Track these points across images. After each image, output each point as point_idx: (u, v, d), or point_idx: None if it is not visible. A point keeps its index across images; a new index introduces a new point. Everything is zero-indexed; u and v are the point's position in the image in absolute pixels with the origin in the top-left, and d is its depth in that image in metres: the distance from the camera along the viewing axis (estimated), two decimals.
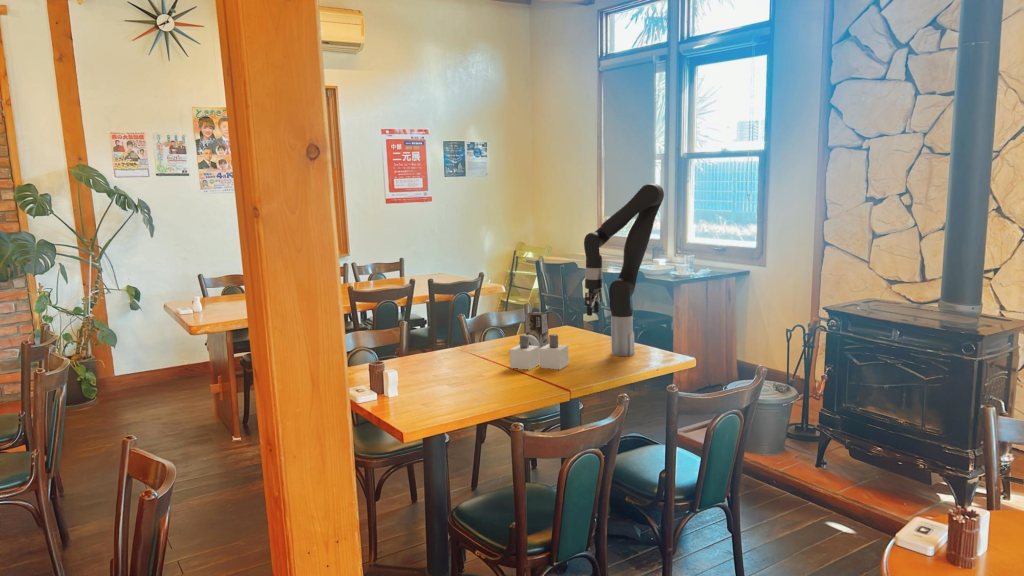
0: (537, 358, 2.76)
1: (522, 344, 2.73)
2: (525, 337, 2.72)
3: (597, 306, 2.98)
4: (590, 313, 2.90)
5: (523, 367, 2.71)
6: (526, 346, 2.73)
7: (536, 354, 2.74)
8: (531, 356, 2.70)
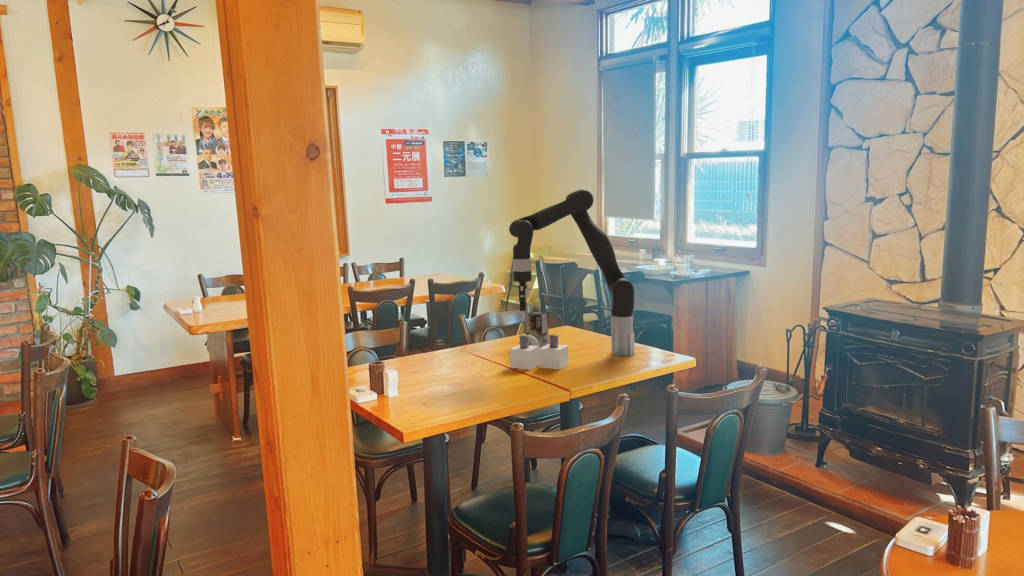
0: (537, 358, 2.76)
1: (522, 344, 2.73)
2: (525, 337, 2.72)
3: None
4: None
5: (523, 367, 2.71)
6: (526, 346, 2.73)
7: (536, 354, 2.74)
8: (531, 356, 2.70)
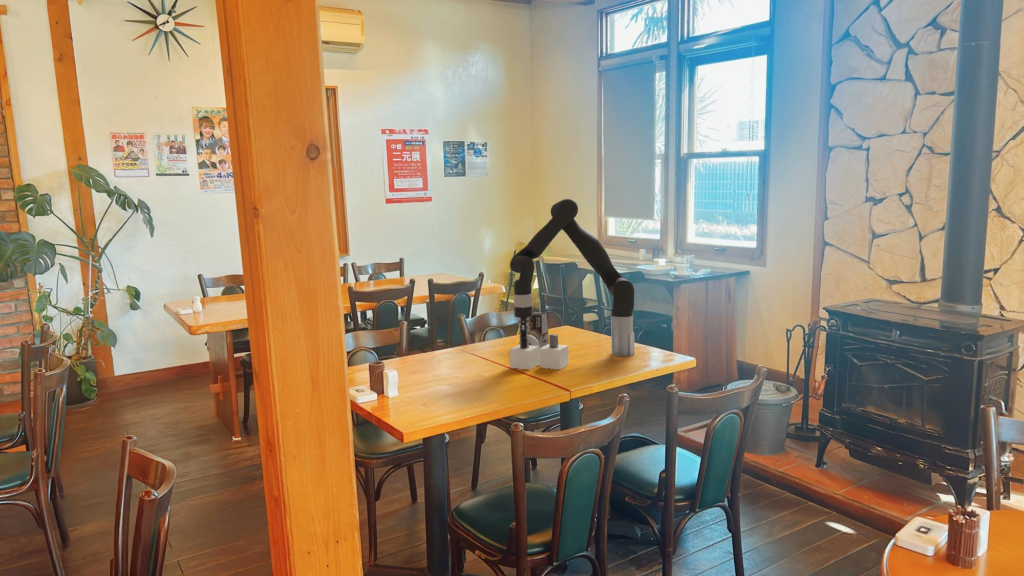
0: (537, 358, 2.76)
1: None
2: None
3: None
4: None
5: (523, 367, 2.71)
6: None
7: (536, 354, 2.74)
8: (531, 356, 2.70)
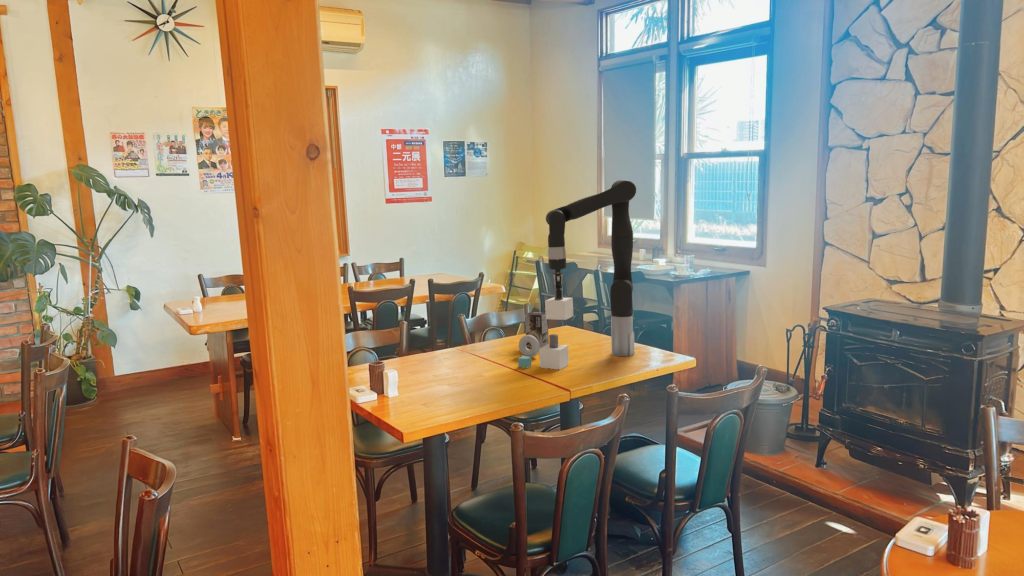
0: (572, 309, 2.85)
1: None
2: None
3: None
4: None
5: (559, 317, 2.80)
6: None
7: (570, 305, 2.84)
8: (566, 306, 2.79)
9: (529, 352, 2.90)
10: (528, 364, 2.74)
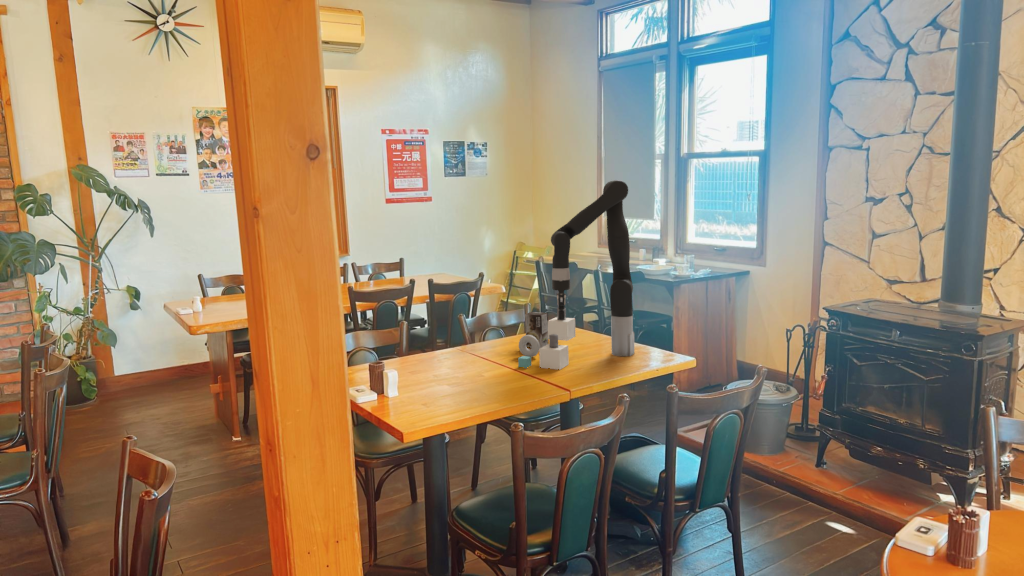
0: (574, 330, 2.88)
1: None
2: None
3: None
4: None
5: (561, 338, 2.83)
6: None
7: (573, 326, 2.87)
8: (568, 327, 2.82)
9: (529, 352, 2.90)
10: (528, 364, 2.74)
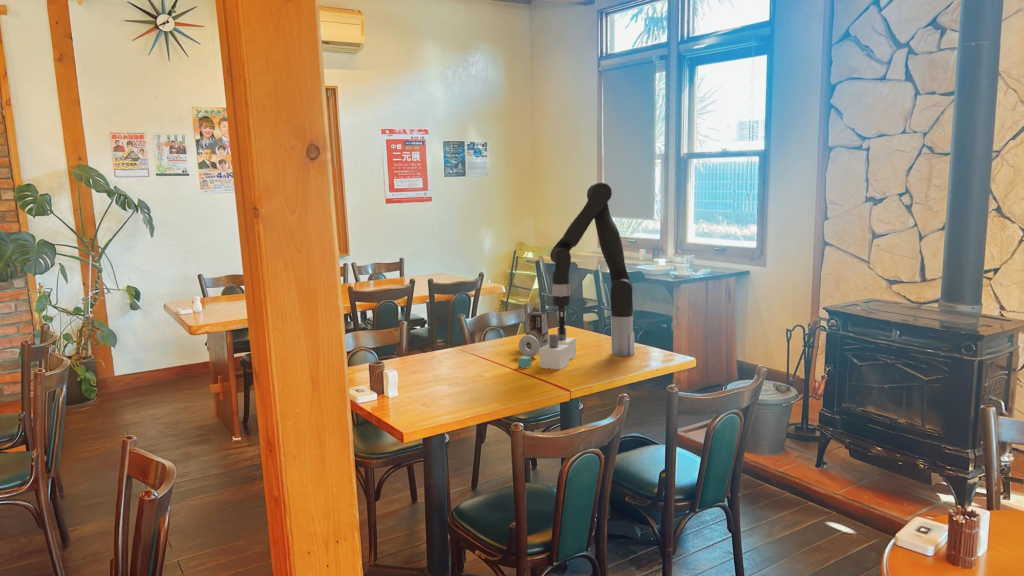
0: (574, 350, 2.89)
1: (560, 336, 2.86)
2: None
3: None
4: None
5: None
6: (564, 338, 2.86)
7: (573, 346, 2.88)
8: (568, 347, 2.83)
9: (529, 352, 2.90)
10: (528, 364, 2.74)
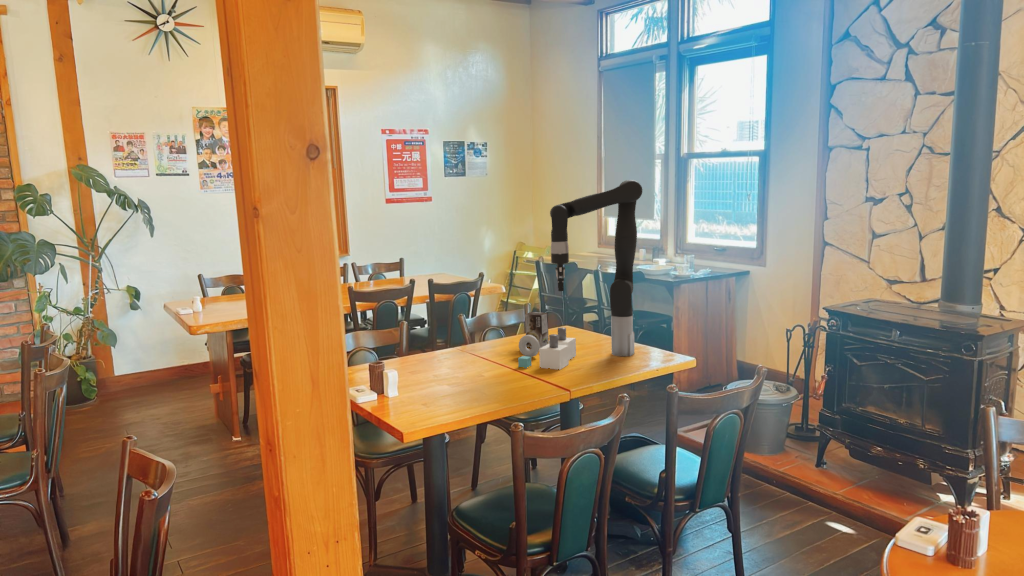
0: (574, 350, 2.89)
1: (560, 336, 2.86)
2: (563, 329, 2.85)
3: None
4: None
5: None
6: (564, 338, 2.86)
7: (573, 346, 2.88)
8: (568, 347, 2.83)
9: (529, 352, 2.90)
10: (528, 364, 2.74)
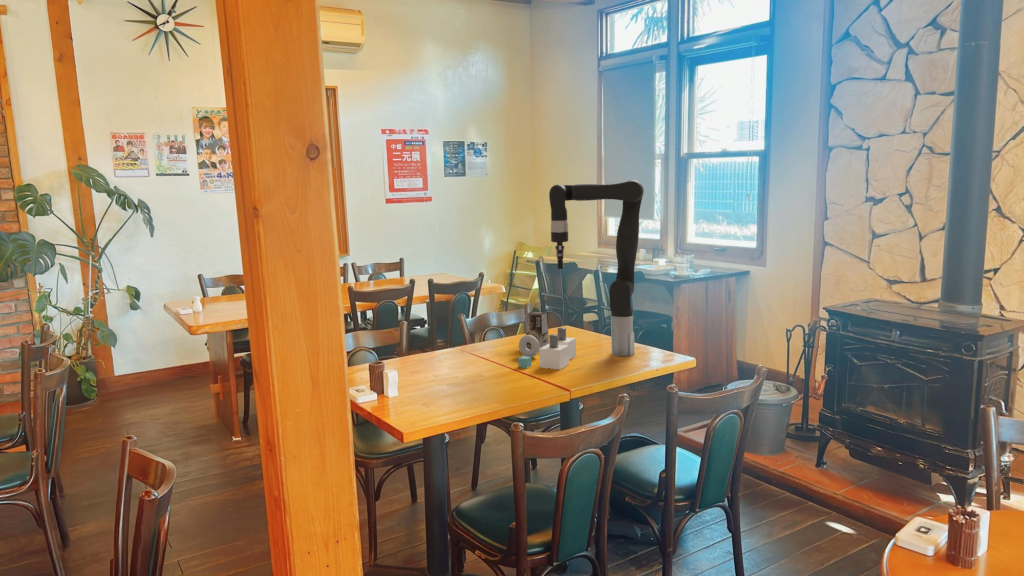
0: (574, 350, 2.89)
1: (560, 336, 2.86)
2: (563, 329, 2.85)
3: None
4: None
5: None
6: (564, 338, 2.86)
7: (573, 346, 2.88)
8: (568, 347, 2.83)
9: (529, 352, 2.90)
10: (528, 364, 2.74)
